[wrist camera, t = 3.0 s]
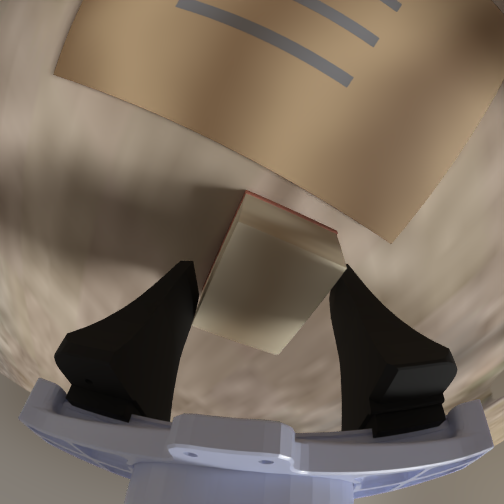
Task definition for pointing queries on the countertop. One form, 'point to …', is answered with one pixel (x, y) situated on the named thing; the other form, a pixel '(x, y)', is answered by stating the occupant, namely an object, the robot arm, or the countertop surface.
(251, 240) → the block
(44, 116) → the countertop surface
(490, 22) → the board
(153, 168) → the countertop surface
